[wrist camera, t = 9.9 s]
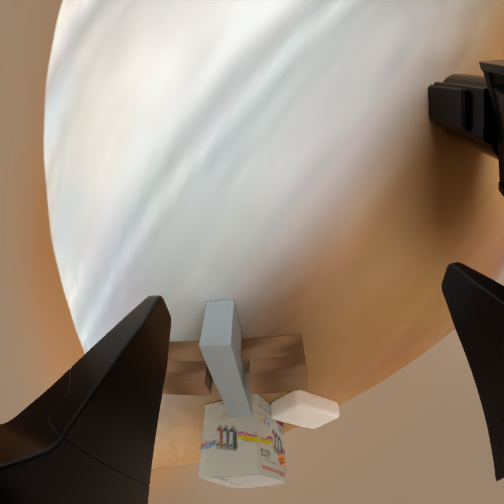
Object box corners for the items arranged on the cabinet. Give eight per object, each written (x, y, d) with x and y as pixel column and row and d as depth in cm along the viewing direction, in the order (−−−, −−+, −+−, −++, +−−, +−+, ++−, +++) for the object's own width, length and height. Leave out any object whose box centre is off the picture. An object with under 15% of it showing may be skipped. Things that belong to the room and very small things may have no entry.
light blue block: (234, 299, 24) (230, 344, 19) (252, 379, 31) (252, 415, 26) (206, 301, 24) (198, 346, 20) (232, 380, 31) (230, 416, 27)
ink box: (284, 413, 36) (288, 484, 26) (235, 423, 39) (232, 489, 29) (257, 391, 32) (258, 476, 22) (203, 403, 35) (195, 479, 25)
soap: (268, 401, 34) (269, 420, 32) (297, 386, 32) (299, 406, 30) (311, 414, 37) (313, 430, 35) (339, 400, 35) (342, 417, 33)
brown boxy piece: (301, 333, 26) (307, 376, 22) (300, 348, 27) (306, 389, 23) (163, 341, 27) (153, 381, 23) (171, 355, 28) (162, 393, 24)
